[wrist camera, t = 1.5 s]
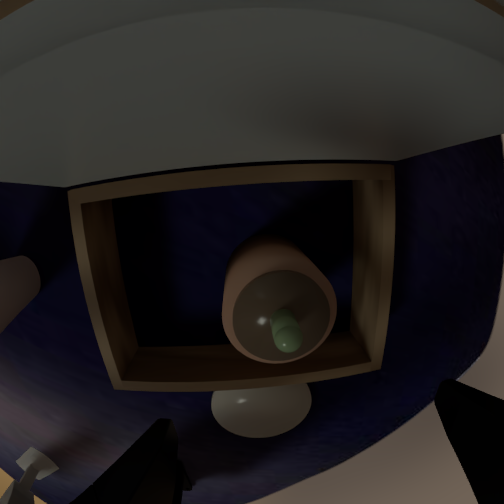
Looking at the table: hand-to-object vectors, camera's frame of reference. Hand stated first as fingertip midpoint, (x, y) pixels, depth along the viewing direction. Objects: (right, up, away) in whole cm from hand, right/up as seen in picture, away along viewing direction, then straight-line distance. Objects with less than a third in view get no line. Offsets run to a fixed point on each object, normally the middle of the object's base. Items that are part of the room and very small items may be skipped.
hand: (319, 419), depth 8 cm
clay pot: (-1, +4, +12) cm, 13 cm away
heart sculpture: (-35, -27, +18) cm, 48 cm away
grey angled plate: (-3, +8, -1) cm, 9 cm away
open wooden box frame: (-3, +5, +12) cm, 13 cm away
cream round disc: (-1, -8, +15) cm, 17 cm away
